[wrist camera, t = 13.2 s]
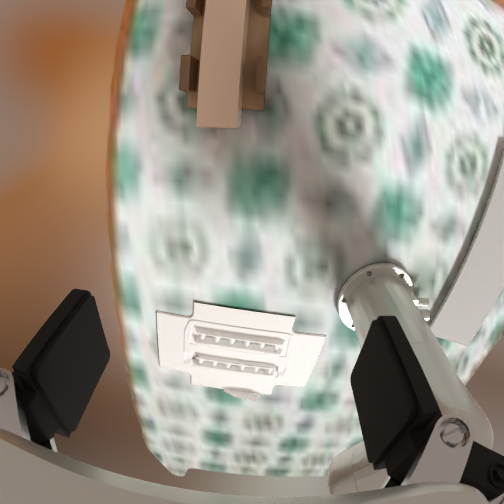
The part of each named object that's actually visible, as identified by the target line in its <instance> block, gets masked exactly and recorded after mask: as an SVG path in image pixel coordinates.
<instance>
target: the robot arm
mask: <svg viewBox="0 0 504 504" xmlns="http://www.w3.org/2000/svg"><path fill="white" fill-rule="evenodd" d="M413 290H414V288H413V283H412V281H411V278H410V277H409V275H408V274H407V272H406V271H405V270H403V269H402V268H401V267H399V266H397V265H395V264H391V263H375V264H372V265H368V266H366V267H364V268H362V269H360V270H359V271H357V272H356V273H354V274H353V275H352V276H351V277H350V278H349V279H348V280H347V281H346V282H345V284H344V285H343V287H342V289H341V290H340V293H339V296H338V301H337V308H338V313H339V316H340V318H341V320H342V322H343V323H344V324H345V325H346V326H347V327H349V328H350V329H352V330H355V331H356V334H357V337H358V340H359V343H360V346H361V352H360V354H359V357H358V359H357V361H356V364H355V366H354V369H353V371H352V374H351V386H352V390H353V394H354V399H355V403H356V407H357V412H358V416H359V421H360V425H361V430H362V435H363V440H364V441H363V442H361V443H359V444H357V445H355V446H352V447H350V448H348V449H346V450H345V451H343V452H341V453H340V454H338V455H337V456H336V457H335V458H334V459H333V461H332V462H331V464H330V466H329V469H328V474H327V481H328V487H329V491H330V493H331V495H323V496H306V497H258V496H240V495H227V494H217V493H208V492H201V491H193V490H187V489H181V488H176V487H171V486H165V485H161V484H155V483H151V482H147V481H143V480H139V479H135V478H131V477H127V476H124V475H120V474H116V473H113V472H110V471H107V470H103V469H100V468H97V467H94V466H91V465H88V464H86V463H83V462H80V461H77V460H75V459H72V458H69V457H67V456H65V455H62V454H59V453H58V451H57V448H56V445H55V442H54V438H53V437H54V434H55V432H56V433H58V434H60V435H63V436H65V437H68V438H69V436H70V434H71V431H75V430H76V428H77V426H78V424H79V422H80V419H81V417H82V415H83V413H84V411H85V409H86V406H87V404H88V402H89V400H90V398H91V396H92V394H93V392H94V389H95V387H96V385H97V383H98V381H99V379H100V377H101V375H102V373H103V371H104V369H105V367H106V365H107V363H108V361H109V358H110V351H109V348H108V345H107V341H106V338H105V335H104V331H103V328H102V324H101V321H100V317H99V313H98V309H97V306H96V302H95V298H94V296H91V293H90V292H89V291H86V290H80V289H73V290H72V291H71V292H70V293H69V294H68V295H67V297H66V298H65V299H64V300H63V301H62V303H61V304H60V305H59V306H58V307H57V309H56V310H55V311H54V312H53V314H52V315H51V316H50V317H49V318H48V320H47V321H46V322H45V323H44V325H43V326H42V327H41V328H40V330H39V331H38V332H37V334H36V335H35V336H34V338H33V339H32V340H31V341H30V343H29V344H28V345H27V347H26V348H25V349H24V351H23V352H22V354H21V355H20V356H19V358H18V359H17V360H16V362H15V364H14V365H13V366H12V368H13V369H14V371H13V373H12V374H11V373H10V371H8V370H6V369H3V368H0V504H504V456H502V455H500V454H498V453H496V452H494V451H492V446H493V439H494V438H493V431H492V427H491V425H490V422H489V420H488V419H487V417H486V415H485V414H484V412H483V410H482V409H481V408H480V406H479V405H478V404H477V402H476V401H475V400H474V398H473V397H472V396H471V394H470V393H469V392H468V390H467V389H466V388H465V386H464V384H463V383H462V381H461V380H460V379H459V377H458V375H457V374H456V372H455V370H454V368H453V367H452V365H451V363H450V362H449V360H448V358H447V356H446V355H445V353H444V351H443V349H442V348H441V346H440V344H439V343H438V341H437V339H436V337H435V336H434V334H433V332H432V331H431V329H430V327H429V326H428V324H427V322H426V321H428V320H429V319H430V311H429V310H428V309H418V308H417V306H420V307H427V306H428V305H429V299H428V298H417V297H416V296H415V295H414V293H413Z"/></svg>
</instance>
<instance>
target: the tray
mask: <svg viewBox="0 0 504 504" xmlns="http://www.w3.org/2000/svg"><path fill="white" fill-rule="evenodd" d="M294 320H295V317H291V316H283V315H275V314H268V313H260V312H253V311H246V310H239V309H232V308H226V307H220V306H214V305H207V304H201V303H195V302H194V309H193V315H192V316H189V317H188V316H182V315H177V314H171V313H166V312H161V311H157V331H158V347H159V362H160V367H164V368H169V369H174V370H179V371H185V372H188V373H190V374H191V384H196V385H202V386H208V387H214V388H220V389H224V392H227V393H229V394H230V395H231V396H233V395H234V397H237V398H238V397H240V398H242V397H243V398H244V399H245V400H246V399H251V400H252V401H254V400H256V399H257V396H258V397H260V394H271V392H272V389H273V386H275V385H289V386H302V387H305V386H306V384H307V381H308V379H309V377H310V375H311V372H312V370H313V368H314V365H315V363H316V361H317V358H318V356H319V353H320V351H321V348H322V346H323V343H324V341H325V338H326V335H318V334H308V333H299V332H294V331H293V330H292V326H293V323H294ZM206 335H208V336H213V337H214V338H212V337H206ZM221 338H225V339H229V340H224V339H221ZM235 340H239V341H244V342H238V341H235ZM250 342H254V343H258V344H252V343H250ZM264 344H271V345H273V346H267V345H264ZM193 354H194V355H196V359H193ZM197 359H198V360H197ZM204 360H205V361H204ZM209 361H211V362H209ZM221 363H224V364H221ZM234 365H238V366H234ZM276 366H279V367H278V371H274V370H275V368H276ZM249 367H253V368H249ZM258 368H262V369H258ZM272 369H273V370H272ZM225 389H227V390H225ZM233 390H235V391H233ZM249 392H250V393H249ZM238 395H239V396H238ZM254 397H255V398H254Z"/></svg>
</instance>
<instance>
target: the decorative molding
mask: <svg viewBox="0 0 504 504" xmlns="http://www.w3.org/2000/svg"><path fill="white" fill-rule="evenodd" d="M503 286H504V149H503V152H502V156H501V160H500V163H499V167H498V170H497V174H496V177H495V180H494V183H493V187H492V190H491V193H490V196H489V199H488V201H487V204H486V207H485V210H484V213H483V215H482V218H481V221H480V223H479V226H478V228H477V231H476V233H475V236H474V238H473V240H472V243H471V245H470V247H469V250H468V252H467V254H466V256H465V259H464V261H463V263H462V265H461V267H460V269H459V271H458V273H457V275H456V277H455V279H454V281H453V283H452V285H451V287H450V289H449V291H448V293H447V295H446V297H445V299H444V301H443V302H442V304H441V306H440V308H439V310H438V311H437V313H436V315H435V317H434V318H433V320H432V322H431V324H430V325H429V327H430V329H431V331H432V332H433V334H434V336H436V337H439V338H442V339H446V340H449V341H452V342H455V343H459V344H462V345H465V346H468V345H469V343H470V342H471V340H472V339H473V337H474V336H475V334H476V333H477V331H478V330H479V328H480V327H481V325H482V323H483V322H484V320H485V318H486V317H487V315H488V313H489V312H490V310H491V308H492V307H493V305H494V303H495V301H496V299H497V298H498V296H499V294H500V292H501V290H502V288H503Z"/></svg>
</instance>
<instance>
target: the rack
mask: <svg viewBox="0 0 504 504" xmlns="http://www.w3.org/2000/svg"><path fill="white" fill-rule="evenodd" d="M205 5H206V0H187V4H186V8H187V9H188V10H189V11H190V13H191V14H192V15H193V16H194V22H193V32H192V43H191V55H181V68H180V84H179V90H182V91H187V92H188V104H187V108H197V102H198V85H199V70H200V57H201V45H202V34H203V24H204V14H205ZM271 5H272V0H251V2H250V13H249V25H248V37H247V49H246V62H245V75H244V88H243V102H242V109H251V110H264V99H265V86H266V72H267V59H268V45H269V32H270V19H271Z"/></svg>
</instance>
